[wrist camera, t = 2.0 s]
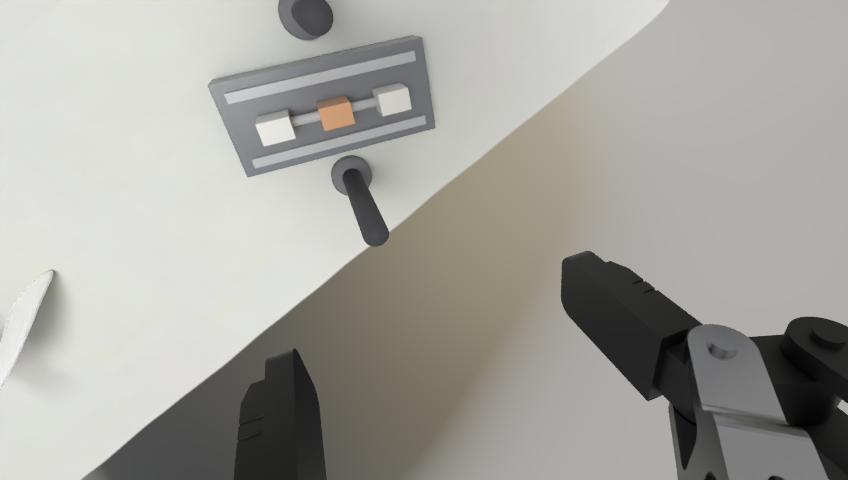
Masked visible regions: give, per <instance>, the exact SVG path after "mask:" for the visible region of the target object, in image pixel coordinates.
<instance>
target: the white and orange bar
mask: <svg viewBox="0 0 848 480" xmlns="http://www.w3.org/2000/svg"><path fill="white" fill-rule="evenodd" d="M372 93H373V97H372V98H368V99H364V100H360V101H356V102H352V103H350V102H349V100H348V99H347V97H346V96H341V97H337V98H332V99H328V100H324V101H320V102H316V105H317V109H318V111H315V112H311V113H307V114H303V115H299V116H295V117H290V114H289V111H288V109H287V110H282V111H278V112H274V113H270V114H266V115H262V116H257V119H256V124H255V125H256V128H257V130H258V133H259V135H260V138H261V141H262V143H263V146H268V145H272V144H276V143H280V142H284V141H288V140H292V139H296V135H295V129H294V127H296V126H300V125H304V124H308V123H312V122H316V121H320V120H321V122H322V125H323V128H324V130H325V131H328V130H332V129H336V128H340V127H343V126H347V125H351V124H355V120H354V117H353V112H357V111H361V110H365V109H369V108H373V107H376V110H377V111H378V112H379V113H380V114H381V115H382V116H387V115H391V114H395V113H399V112H403V111H407V110H411V109H412V108H411V102H410V96H409V91H408V87H406V86H405V85H403V84H402V83H400V82H399V83H395V84H391V85H386V86H382V87H378V88H374V89H372Z"/></svg>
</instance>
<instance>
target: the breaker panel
mask: <svg viewBox="0 0 848 480" xmlns="http://www.w3.org/2000/svg"><path fill="white" fill-rule="evenodd" d="M399 82H400V83H402V84H403V85H405V86H406V87H408V91H409V96H410V102H411V108H412V109H411V110H407V111H403V112H399V113H395V114H391V115H387V116H382V115H381V114H380V113H379V112H378V111H377V110H376V107H373V108H369V109H365V110H361V111H357V112H353V117H354V120H355V124H351V125H347V126H343V127H340V128H336V129H332V130H328V131H325V130H324V128H323V125H322V122H321V120H320V121H316V122H312V123H308V124H304V125H300V126H296V127H294V129H295V135H296V139H292V140H288V141H284V142H280V143H276V144H272V145H268V146H263V143H262V141H261V138H260V135H259V133H258V130H257V128H256V125H255V124H256V119H257V116H262V115H266V114H270V113H274V112H278V111H282V110H287V109H288V111H289V114H290V117H295V116H299V115H303V114H307V113H311V112H315V111H318V109H317V105H316V102H320V101H324V100H328V99H332V98H337V97H341V96H346V97H347V99H348V100H349V102H350V103H352V102H356V101H360V100H364V99H368V98H372V97H373V93H372V89H374V88H378V87H382V86H386V85H391V84H395V83H399ZM208 88H209V90H210V92H211V95H212V97H213V99H214V101H215V104H216V106H217V108H218V111H219V113H220V115H221V117H222V120H223V122H224V124H225V127H226V129H227V131H228V134H229V136H230V138H231V140H232V143H233V145H234V147H235V150H236V152H237V154H238V156H239V159H240V161H241V163H242V166H243V168H244V170H245V172H246V175H247V177H252V176H255V175H259V174H263V173H267V172H270V171H274V170H278V169H282V168H286V167H289V166H293V165H297V164H301V163H305V162H308V161H312V160H316V159H320V158H323V157H327V156H331V155H335V154H339V153H342V152H346V151H350V150H354V149H358V148H361V147H365V146H369V145H373V144H376V143H380V142H384V141H388V140H392V139H395V138H399V137H403V136H407V135H411V134H414V133H418V132H422V131H426V130H430V129H433V128H435V121H434V115H433V108H432V102H431V95H430V88H429V82H428V75H427V69H426V62H425V55H424V49H423V42H422V38H421V37H417V36H408V37H404V38H399V39H395V40H390V41H386V42H381V43H376V44H372V45H367V46H363V47H358V48H354V49H349V50H345V51H340V52H336V53H331V54H327V55H322V56H318V57H313V58H309V59H304V60H300V61H295V62H291V63H286V64H282V65H277V66H273V67H268V68H264V69H259V70H255V71H250V72H245V73H241V74H236V75H232V76H227V77H223V78H218V79H214V80H212V81H211V82H210V83H209V84H208Z"/></svg>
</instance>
